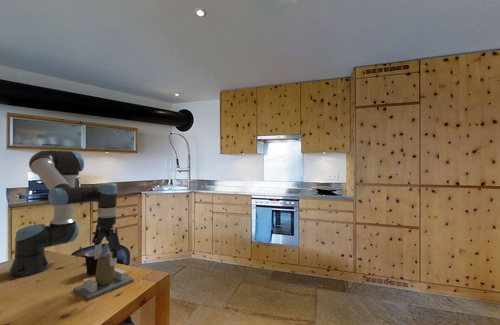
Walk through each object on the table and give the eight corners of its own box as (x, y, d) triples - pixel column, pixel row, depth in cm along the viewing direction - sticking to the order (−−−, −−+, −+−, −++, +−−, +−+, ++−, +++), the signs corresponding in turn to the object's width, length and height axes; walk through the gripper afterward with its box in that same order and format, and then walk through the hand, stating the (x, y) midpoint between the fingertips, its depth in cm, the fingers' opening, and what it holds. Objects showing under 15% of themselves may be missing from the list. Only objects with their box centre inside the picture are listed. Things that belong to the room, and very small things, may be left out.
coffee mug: (94, 276, 120) (95, 256, 120) (80, 275, 121) (80, 255, 122) (112, 267, 131) (112, 249, 131) (98, 266, 133) (99, 248, 133)
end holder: (73, 291, 106) (73, 280, 106) (117, 274, 123) (118, 265, 123) (88, 300, 99) (89, 289, 99) (133, 281, 116) (134, 271, 116)
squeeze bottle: (118, 281, 113) (119, 243, 113) (102, 289, 105) (103, 248, 106) (107, 278, 116) (108, 241, 117) (90, 285, 109) (91, 245, 109)
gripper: (85, 214, 115) (83, 258, 115) (113, 221, 102) (111, 271, 101) (101, 211, 121) (99, 253, 121) (129, 218, 108) (128, 265, 108)
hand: (105, 261), depth 111 cm, fingers open, 13 cm apart
